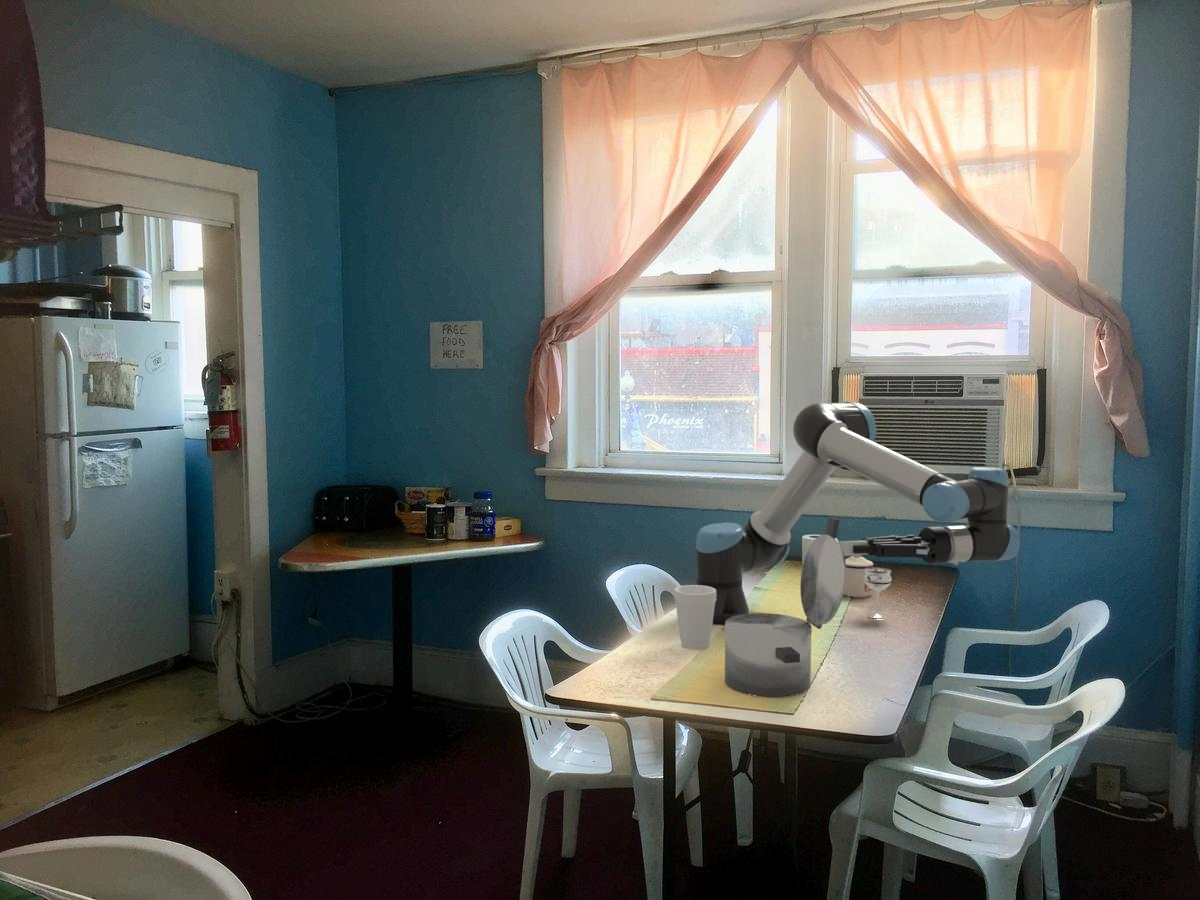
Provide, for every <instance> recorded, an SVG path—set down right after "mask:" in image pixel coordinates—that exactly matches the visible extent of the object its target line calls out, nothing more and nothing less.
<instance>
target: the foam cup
mask: <svg viewBox="0 0 1200 900" xmlns="http://www.w3.org/2000/svg"><path fill="white" fill-rule="evenodd" d="M674 600H675V606H676V613H677V622H678V629H679V631H678V632H679V638H680V645H681V647H682V648H684V649H686V650H695V651H697V650H698V651H700V650H706V649H708V648H709V647H710V643H711V641H710V640H711V636H712V635H711V634H712V629H713V623H712V622H713V615H714V608H715V601H716V589H715V588H712V587H709V586H702V585H696V584H690V585H689V584H688V585H687V584H686V585H681V586H680V585H679V586H677V587H675V588H674Z"/></svg>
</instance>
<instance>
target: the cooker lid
mask: <svg viewBox="0 0 1200 900" xmlns="http://www.w3.org/2000/svg"><path fill="white" fill-rule="evenodd" d="M839 526H840V519H837V518H835V517H831V516H828V519H827V524H826V529H825V534H821V535H818V536H817V537H816V538H815V539H813V541H812V543H811V544H810V545H809V547H808V550H807V552H806V554H805V557H804V561H803V564H802V570H801V575H800V600H801V605H802V610H803V613H804V615H805V616H806V620H805V621H807V622H808V623H810V624H811V626H813V627H815V628H816V629H819V630H820V629H822V627H823V625H826V624H828V623H829V622H830V621H832V620H833V619H834V617H836V614H837V613H838V611H839V608H840V606H841V603H842V601H843V597H844V595H843V594H844V589H845V582H846V561H845V559H846V556H845V555H844V551H843V548H842V545H841V543H840V542H839V541H840V540H839V539H838V537H837V536H838V531H839Z"/></svg>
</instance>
